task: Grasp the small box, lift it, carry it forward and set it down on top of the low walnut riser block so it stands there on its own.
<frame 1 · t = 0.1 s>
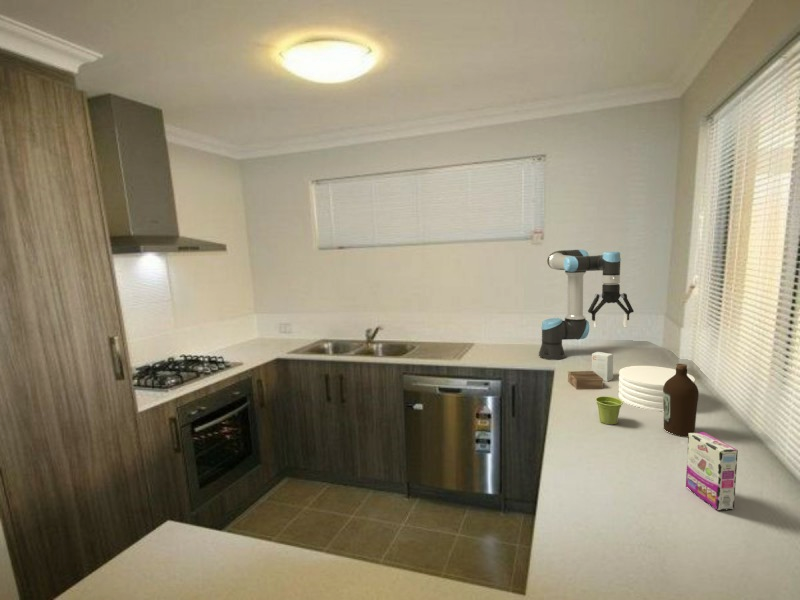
hand: (610, 327, 204), 28 cm above the worktop, fingers open, 13 cm apart
candy bar box: (708, 498, 113), on the worktop
riser: (584, 385, 205), on the worktop
small box: (602, 379, 213), on the worktop
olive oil: (678, 431, 152), on the worktop
plant pot: (608, 422, 163), on the worktop
plate stack: (654, 400, 183), on the worktop
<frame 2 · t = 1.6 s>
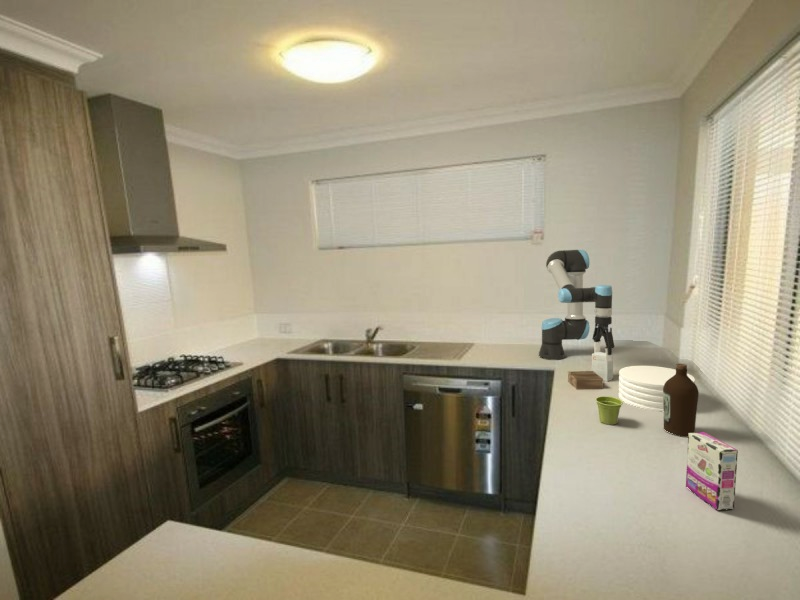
hand: (602, 357, 211), 11 cm above the worktop, fingers open, 13 cm apart
nothing on the worktop moved.
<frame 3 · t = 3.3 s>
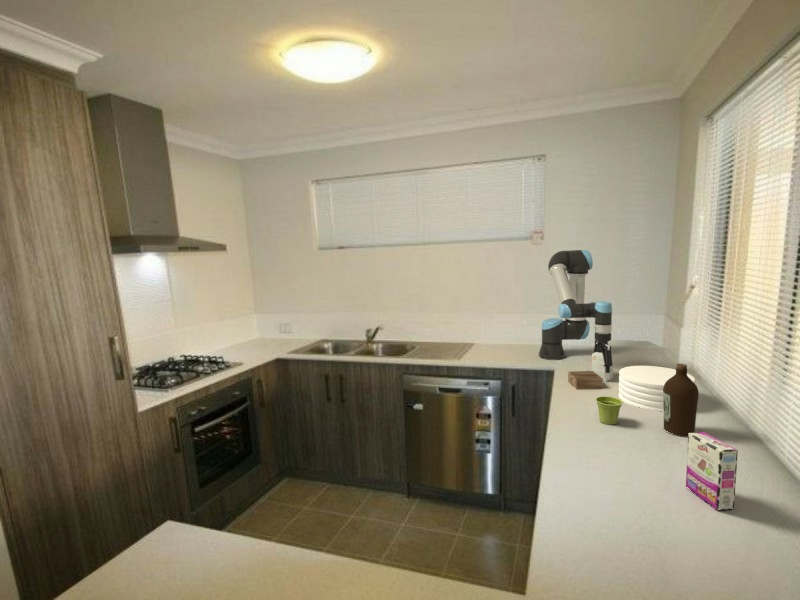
hand: (602, 375, 213), 2 cm above the worktop, fingers closed on small box, 10 cm apart
small box: (602, 379, 213), on the worktop, touching gripper
everything else where it was.
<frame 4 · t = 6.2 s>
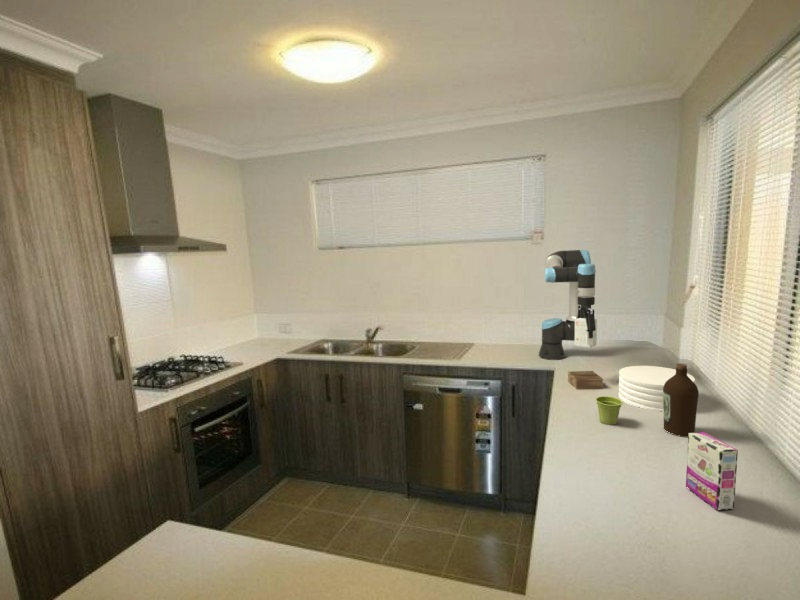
hand: (585, 342, 202), 21 cm above the worktop, fingers closed on small box, 10 cm apart
small box: (585, 346, 202), point 20 cm above the worktop, touching gripper
everything else where it was.
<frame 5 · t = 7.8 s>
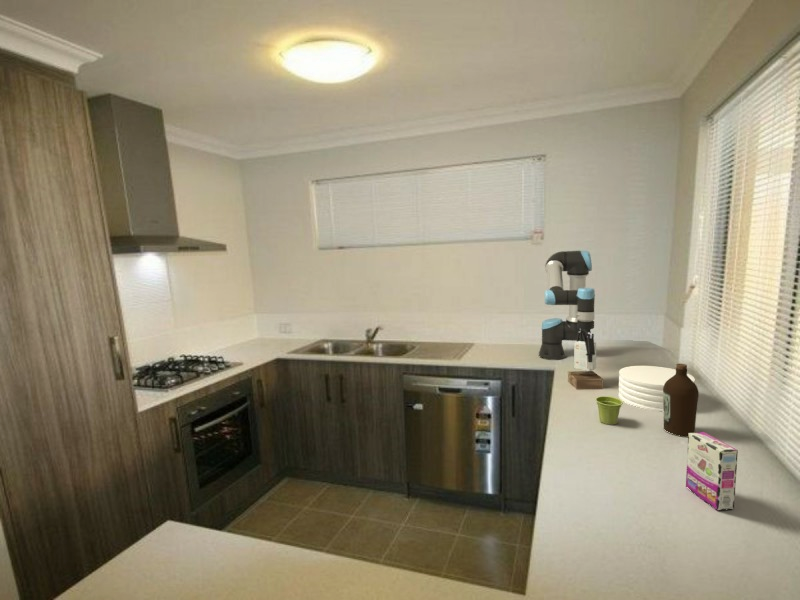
hand: (585, 365, 203), 10 cm above the worktop, fingers closed on small box, 10 cm apart
small box: (585, 369, 204), point 8 cm above the worktop, touching gripper
everything else where it was.
when the fingers open (9 cm above the worktop, at t = 9.0 s): small box drops 2 cm, resting on riser.
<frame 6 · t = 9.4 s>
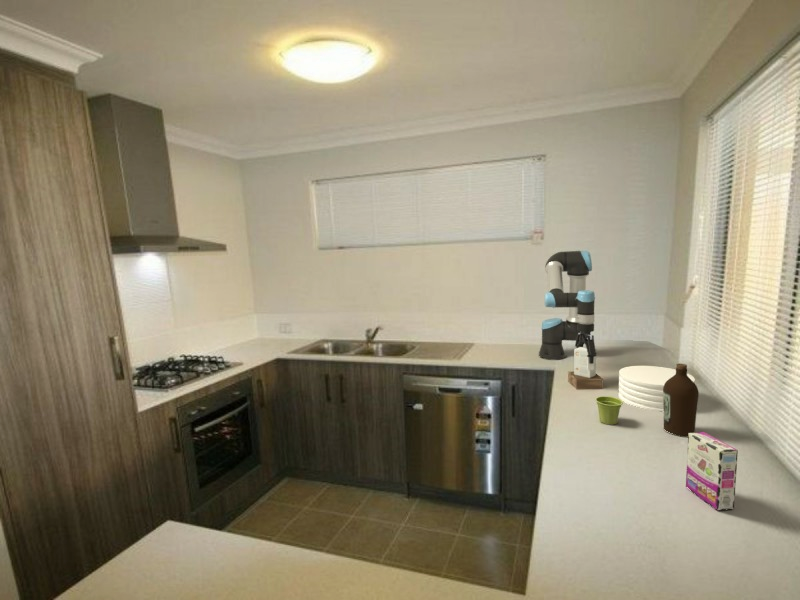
hand: (584, 365, 204), 10 cm above the worktop, fingers open, 13 cm apart
small box: (584, 375, 204), point 5 cm above the worktop, touching riser
everything else where it was.
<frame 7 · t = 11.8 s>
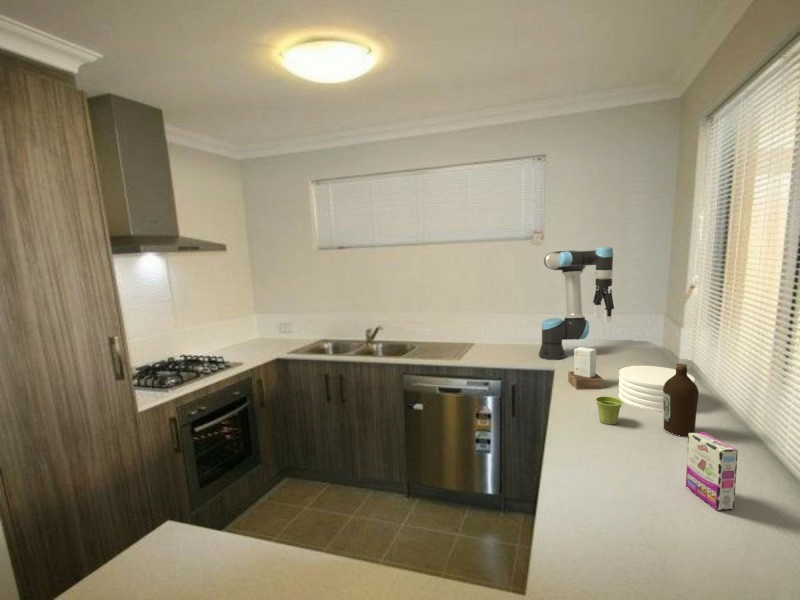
hand: (602, 320, 212), 30 cm above the worktop, fingers open, 13 cm apart
nothing on the worktop moved.
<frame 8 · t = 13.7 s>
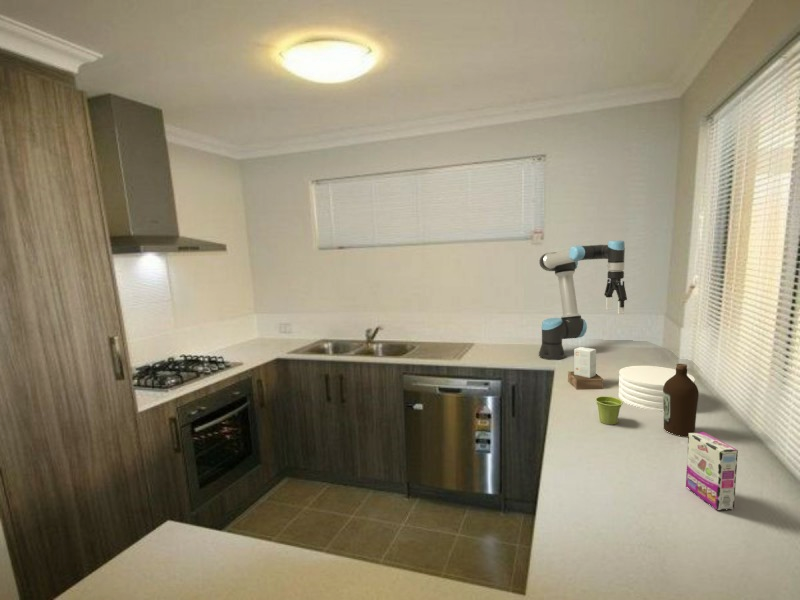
hand: (614, 311, 218), 33 cm above the worktop, fingers open, 13 cm apart
nothing on the worktop moved.
at the end: small box inside the target area on the riser (0.1 cm from its centre), point 4.8 cm above the riser's base; small box tilted 0°; the gripper is holding nothing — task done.
